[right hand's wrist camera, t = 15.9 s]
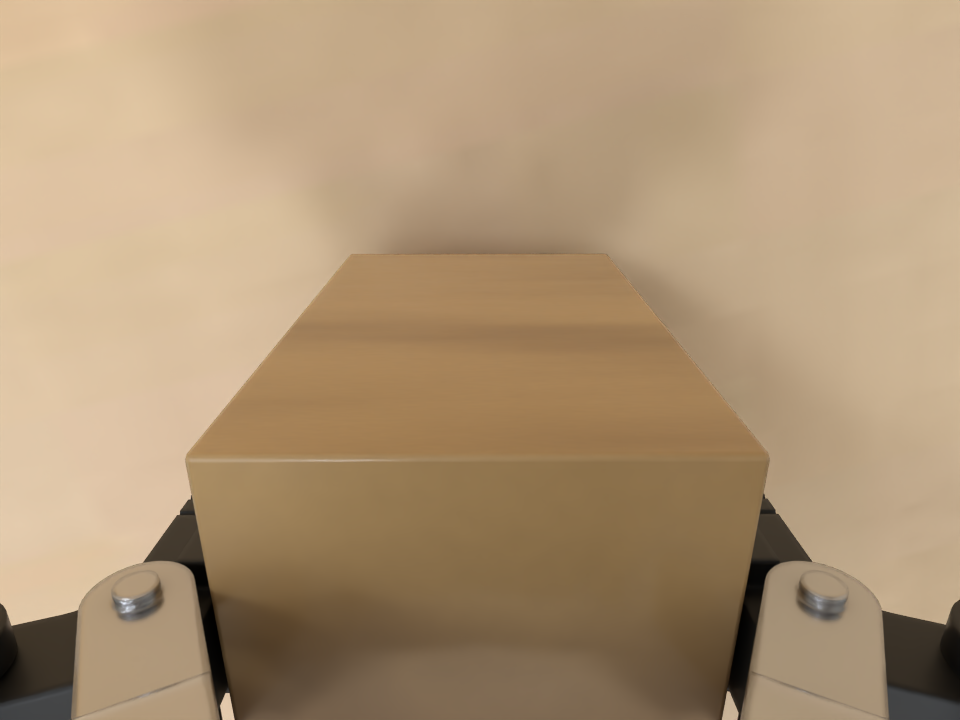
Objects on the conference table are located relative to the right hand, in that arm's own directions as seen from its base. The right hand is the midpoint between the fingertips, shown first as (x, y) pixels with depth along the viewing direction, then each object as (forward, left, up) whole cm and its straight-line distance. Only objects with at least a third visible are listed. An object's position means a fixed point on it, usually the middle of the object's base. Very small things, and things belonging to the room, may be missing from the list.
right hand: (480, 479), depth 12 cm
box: (+6, -4, -6) cm, 9 cm away
